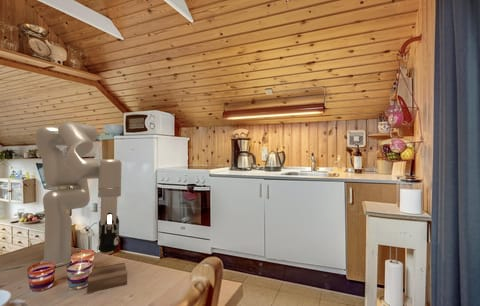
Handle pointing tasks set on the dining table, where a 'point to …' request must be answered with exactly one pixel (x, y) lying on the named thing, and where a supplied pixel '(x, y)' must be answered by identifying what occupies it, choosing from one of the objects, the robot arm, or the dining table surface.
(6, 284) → the dining table surface
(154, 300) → the dining table surface
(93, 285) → the walnut base block
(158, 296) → the dining table surface
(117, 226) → the beverage can
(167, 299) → the dining table surface
